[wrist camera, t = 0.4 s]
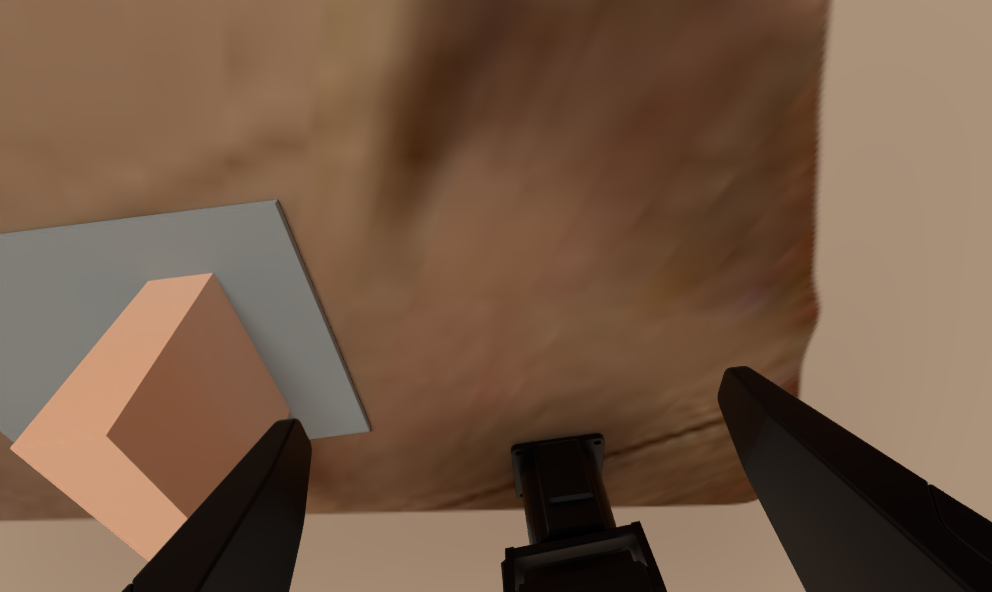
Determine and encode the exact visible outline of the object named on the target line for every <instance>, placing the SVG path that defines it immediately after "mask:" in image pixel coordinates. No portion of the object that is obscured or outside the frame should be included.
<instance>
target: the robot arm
mask: <svg viewBox="0 0 992 592" xmlns="http://www.w3.org/2000/svg"><path fill="white" fill-rule="evenodd" d="M718 403H719V406H720V409H721V412H722V414H723V417H724V419H725V422H726V425H727V427H728V430H729V433H730V435H731V438H732V440H733V443H734V446H735V448H736V451H737V453H738V456H739V459H740V461H741V464H742V466H743V468H744V471H745V473H746V475H747V477H748V479H749V481H750V483H751V485H752V487H753V489H754V491H755V493H756V495H757V497H758V499H759V501H760V502H761V505H762V506H763V508H764V510H765V512H766V514H767V516H768V518H769V520H770V522H771V524H772V526H773V528H774V530H775V532H776V534H777V536H778V538H779V540H780V542H781V544H782V546H783V547H784V549H785V551H786V553H787V555H788V557H789V559H790V561H791V563H792V565H793V567H794V569H795V571H796V573H797V575H798V577H799V579H800V581H801V583H802V585H803V586H804V588H805V590H806V592H992V522H991V521H989V520H988V519H986V518H984V517H983V516H981V515H979V514H978V513H976V512H975V511H973V510H972V509H970V508H968V507H967V506H965V505H963V504H962V503H960V502H959V501H957V500H955V499H954V498H952V497H951V496H949V495H948V494H946V493H944V492H943V491H941V490H940V489H938V488H937V487H935V486H934V485H931V484H930V485H928V482H927V481H926V480H924V479H922V478H921V477H919V476H918V475H916V474H915V473H913V472H912V471H910V470H909V469H907V468H905V467H904V466H902V465H901V464H899V463H898V462H896V461H894V460H893V459H891V458H890V457H888V456H887V455H885V454H883V453H882V452H880V451H879V450H877V449H876V448H874V447H873V446H871V445H870V444H868V443H866V442H864V441H863V440H862V439H860V438H859V437H857V436H856V435H854V434H852V433H851V432H849V431H848V430H846V429H845V428H843V427H841V426H840V425H838V424H837V423H835V422H834V421H832V420H830V419H829V418H827V417H826V416H824V415H823V414H821V413H819V412H818V411H817V410H815V409H813V408H812V407H810V406H809V405H807V404H806V403H804V402H803V401H801V400H799V399H798V398H796V397H795V396H793V395H792V394H790V393H789V392H787V391H785V390H784V389H782V388H781V387H779V386H778V385H776V384H774V383H773V382H771V381H770V380H768V379H767V378H765V377H764V376H762V375H760V374H759V373H757V372H756V371H754V370H753V369H751V368H749V367H747V366H739V367H730V368H727V369H726V370H725V372H724V375H723V378H722V381H721V385H720V388H719V391H718ZM604 444H605V441H604V438H603V435H602V434H599V433H598V434H589V435H582V436H574V437H567V438H560V439H552V440H545V441H537V442H530V443H522V444H516V445H514V446H512V447H511V454H512V463H513V471H514V479H515V488H516V495H517V498H520V499H523V502H524V508H525V515H526V522H527V529H528V536H529V542H530V545H528V546H523V547H518V548H514V547H510V548H506V549H505V560H504V561H503V562H502V563H501V568H502V579H503V592H667V590H666V587H665V585H664V582H663V579H662V577H661V574H660V571H659V569H658V566H657V564H656V561H655V559H654V556H653V554H652V551H651V548H650V546H649V544H648V541H647V538H646V536H645V533H644V531H643V528H642V526H641V523H640V521H638V522H633V523H631V524H630V525H626V526H620V527H616V524H615V520H614V517H613V514H612V510H611V507H610V503H609V500H608V497H607V493H606V490H605V486H604V483H603V480H602V467H603V456H604ZM311 454H312V448H311V442H310V440H309V438H308V436H307V434H306V432H305V430H304V428H303V426H302V424H301V422H300V420H299V419H297V418H290V419H281V420H278V421H276V422H275V423H274V424H273V425H272V426H271V427H270V428H269V429H268V430H267V431H266V433H265V434H264V435H263V436H262V437H261V438H260V439H259V440H258V441H257V443H256V444H255V445H254V446H253V447H252V448H251V449H250V450H249V451H248V452H247V454H246V455H245V456H244V457H243V458H242V459H241V460H240V461H239V462H238V464H237V465H236V466H235V467H234V468H233V469H232V470H231V471H230V472H229V474H228V475H227V476H226V477H225V478H224V479H223V480H222V481H221V482H220V484H219V485H218V486H217V487H216V488H215V489H214V490H213V491H212V492H211V494H210V495H209V496H208V497H207V498H206V499H205V500H204V501H203V502H202V504H201V505H200V506H199V507H198V508H197V509H196V510H195V511H194V512H193V513H192V515H191V516H190V517H189V518H188V519H187V520H186V521H185V522H184V523H183V525H182V526H181V527H180V528H179V529H178V530H177V531H176V532H175V533H174V535H173V536H172V537H171V538H170V539H169V540H168V541H167V542H166V543H165V545H164V546H163V547H162V548H161V549H160V550H159V551H158V552H157V553H156V555H155V556H154V557H153V558H152V559H151V560H150V561H149V562H148V563H147V565H146V566H145V567H144V568H143V569H142V570H141V571H140V572H139V574H137V576H136V577H135V578H134V579H133V581H132V584H129V585H127V587H126V588H125V589H124V590H123V591H122V592H289V589H290V585H291V580H292V576H293V572H294V567H295V563H296V558H297V553H298V549H299V544H300V540H301V535H302V530H303V525H304V518H305V510H306V501H307V491H308V482H309V473H310V463H311Z"/></svg>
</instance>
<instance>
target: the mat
mask: <svg viewBox="0 0 992 592" xmlns="http://www.w3.org/2000/svg"><path fill="white" fill-rule="evenodd" d="M207 273H214V275H215V277H216V279H217V281H218V282H219V284H220V286H221V288H222V289H223V291H224V293H225V295H226V297H227V298H228V300H229V302H230V304H231V305H232V307H233V309H234V311H235V313H236V314H237V316H238V318H239V320H240V322H241V323H242V325H243V327H244V329H245V330H246V332H247V334H248V336H249V338H250V339H251V341H252V343H253V345H254V347H255V348H256V350H257V352H258V354H259V355H260V357H261V359H262V361H263V363H264V364H265V366H266V368H267V370H268V371H269V373H270V375H271V377H272V379H273V380H274V382H275V384H276V386H277V388H278V389H279V391H280V393H281V395H282V396H283V398H284V400H285V402H286V404H287V405H288V407H289V409H290V411H289V414H288V418H287V419H290V418H297V419H299V420H300V422H301V424H302V426H303V428H304V430H305V432H306V434H307V436H308V438H309V439H317V438H324V437H332V436H339V435H347V434H354V433H362V432H369V431H370V427H371V426H370V424H369V421H368V419H367V416H366V414H365V411H364V409H363V407H362V404H361V402H360V399H359V397H358V394H357V392H356V389H355V387H354V385H353V382H352V380H351V377H350V375H349V372H348V370H347V368H346V365H345V363H344V360H343V358H342V355H341V353H340V350H339V348H338V346H337V343H336V341H335V338H334V336H333V333H332V331H331V329H330V326H329V324H328V321H327V319H326V316H325V314H324V311H323V309H322V307H321V304H320V302H319V299H318V297H317V294H316V292H315V290H314V287H313V285H312V282H311V280H310V277H309V275H308V272H307V270H306V268H305V265H304V263H303V260H302V258H301V255H300V253H299V251H298V248H297V246H296V243H295V241H294V238H293V236H292V233H291V231H290V229H289V226H288V224H287V221H286V219H285V216H284V214H283V212H282V209H281V207H280V204H279V202H278V200H270V201H262V202H254V203H246V204H238V205H230V206H222V207H213V208H205V209H197V210H189V211H181V212H173V213H165V214H157V215H149V216H141V217H133V218H125V219H117V220H109V221H101V222H93V223H85V224H77V225H69V226H61V227H53V228H44V229H36V230H28V231H20V232H12V233H4V234H0V432H2V433H3V434H4V435H5V436H7V437H8V438H9V439H10V440H11V441H13V442H14V443H15V441H16V440H17V439H18V438H19V437H20V435H21V434H22V433H23V432H24V431H25V429H26V428H27V427H28V426H29V424H30V423H31V422H32V421H33V420H34V418H35V417H36V416H37V415H38V414H39V412H40V411H41V410H42V409H43V408H44V406H45V405H46V404H47V403H48V402H49V400H50V399H51V398H52V397H53V395H54V394H55V393H56V392H57V391H58V389H59V388H60V387H61V386H62V385H63V383H64V382H65V381H66V380H67V379H68V377H69V376H70V375H71V374H72V373H73V371H74V370H75V369H76V368H77V366H78V365H79V364H80V363H81V362H82V360H83V359H84V358H85V357H86V356H87V354H88V353H89V352H90V351H91V350H92V348H93V347H94V346H95V345H96V343H97V342H98V341H99V340H100V339H101V337H102V336H103V335H104V334H105V333H106V331H107V330H108V329H109V328H110V327H111V325H112V324H113V323H114V322H115V321H116V319H117V318H118V317H119V316H120V314H121V313H122V312H123V311H124V310H125V308H126V307H127V306H128V305H129V304H130V302H131V301H132V300H133V299H134V298H135V296H136V295H137V294H138V293H139V292H140V290H141V289H142V288H143V287H144V285H145V284H146V283H147V282H148V281H152V280H160V279H168V278H176V277H184V276H192V275H200V274H207Z"/></svg>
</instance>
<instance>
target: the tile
mask: <svg viewBox="0 0 992 592" xmlns="http://www.w3.org/2000/svg"><path fill="white" fill-rule="evenodd" d="M289 411H290V409H289V407H288V405H287V404H286V402H285V400H284V398H283V396H282V395H281V393H280V391H279V389H278V388H277V386H276V384H275V382H274V380H273V379H272V377H271V375H270V373H269V371H268V370H267V368H266V366H265V364H264V363H263V361H262V359H261V357H260V355H259V354H258V352H257V350H256V348H255V347H254V345H253V343H252V341H251V339H250V338H249V336H248V334H247V332H246V330H245V329H244V327H243V325H242V323H241V322H240V320H239V318H238V316H237V314H236V313H235V311H234V309H233V307H232V305H231V304H230V302H229V300H228V298H227V297H226V295H225V293H224V291H223V289H222V288H221V286H220V284H219V282H218V281H217V279H216V277H215V275H214V273H207V274H200V275H192V276H184V277H176V278H168V279H160V280H152V281H148V282H147V283H146V284H145V285H144V287H143V288H142V289H141V290H140V292H139V293H138V294H137V295H136V296H135V298H134V299H133V300H132V301H131V302H130V304H129V305H128V306H127V307H126V308H125V310H124V311H123V312H122V313H121V314H120V316H119V317H118V318H117V319H116V321H115V322H114V323H113V324H112V325H111V327H110V328H109V329H108V330H107V331H106V333H105V334H104V335H103V336H102V337H101V339H100V340H99V341H98V342H97V343H96V345H95V346H94V347H93V348H92V350H91V351H90V352H89V353H88V354H87V356H86V357H85V358H84V359H83V360H82V362H81V363H80V364H79V365H78V366H77V368H76V369H75V370H74V371H73V373H72V374H71V375H70V376H69V377H68V379H67V380H66V381H65V382H64V383H63V385H62V386H61V387H60V388H59V389H58V391H57V392H56V393H55V394H54V395H53V397H52V398H51V399H50V400H49V402H48V403H47V404H46V405H45V406H44V408H43V409H42V410H41V411H40V412H39V414H38V415H37V416H36V417H35V418H34V420H33V421H32V422H31V423H30V424H29V426H28V427H27V428H26V429H25V431H24V432H23V433H22V434H21V435H20V437H19V438H18V439H17V440H16V441H15V443H14V444H13V445H12V446H11V447H10V449H11V450H12V451H13V452H15V453H16V454H17V455H18V456H20V457H21V458H22V459H23V460H25V461H26V462H27V463H28V464H29V465H31V466H32V467H33V468H34V469H36V470H37V471H38V472H39V473H41V474H42V475H43V476H44V477H45V478H47V479H48V480H49V481H50V482H52V483H53V484H54V485H55V486H56V487H58V488H59V489H60V490H61V491H63V492H64V493H65V494H66V495H68V496H69V497H70V498H71V499H72V500H74V501H75V502H76V503H77V504H79V505H80V506H81V507H82V508H84V509H85V510H86V511H87V512H88V513H90V514H91V515H92V516H93V517H95V518H96V519H97V520H98V521H99V522H101V523H102V524H103V525H104V526H106V527H107V528H108V529H109V530H111V531H112V532H113V533H114V534H116V535H117V536H118V537H119V538H120V539H122V540H123V541H124V542H125V543H127V544H128V545H129V546H130V547H131V548H133V549H134V550H135V551H136V552H138V553H139V554H140V555H141V556H142V557H144V558H145V559H146V560H148V561H150V560H151V559H152V558H153V557H154V556H155V555H156V553H157V552H158V551H159V550H160V549H161V548H162V547H163V546H164V545H165V543H166V542H167V541H168V540H169V539H170V538H171V537H172V536H173V535H174V533H175V532H176V531H177V530H178V529H179V528H180V527H181V526H182V525H183V523H184V522H185V521H186V520H187V519H188V518H189V517H190V516H191V515H192V513H193V512H194V511H195V510H196V509H197V508H198V507H199V506H200V505H201V504H202V502H203V501H204V500H205V499H206V498H207V497H208V496H209V495H210V494H211V492H212V491H213V490H214V489H215V488H216V487H217V486H218V485H219V484H220V482H221V481H222V480H223V479H224V478H225V477H226V476H227V475H228V474H229V472H230V471H231V470H232V469H233V468H234V467H235V466H236V465H237V464H238V462H239V461H240V460H241V459H242V458H243V457H244V456H245V455H246V454H247V452H248V451H249V450H250V449H251V448H252V447H253V446H254V445H255V444H256V443H257V441H258V440H259V439H260V438H261V437H262V436H263V435H264V434H265V433H266V431H267V430H268V429H269V428H270V427H271V426H272V425H273V424H274V423H275V422H276V421H278V420H281V419H287V418H288V414H289Z"/></svg>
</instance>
